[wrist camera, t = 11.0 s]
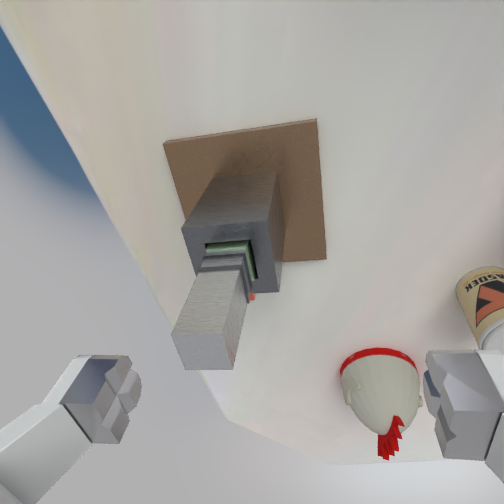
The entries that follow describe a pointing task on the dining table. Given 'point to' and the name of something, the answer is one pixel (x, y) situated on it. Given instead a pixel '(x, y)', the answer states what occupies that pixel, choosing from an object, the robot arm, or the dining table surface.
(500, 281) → the coffee cup
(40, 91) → the dining table surface
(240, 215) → the post sleeve
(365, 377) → the kitchen timer
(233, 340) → the steel post
